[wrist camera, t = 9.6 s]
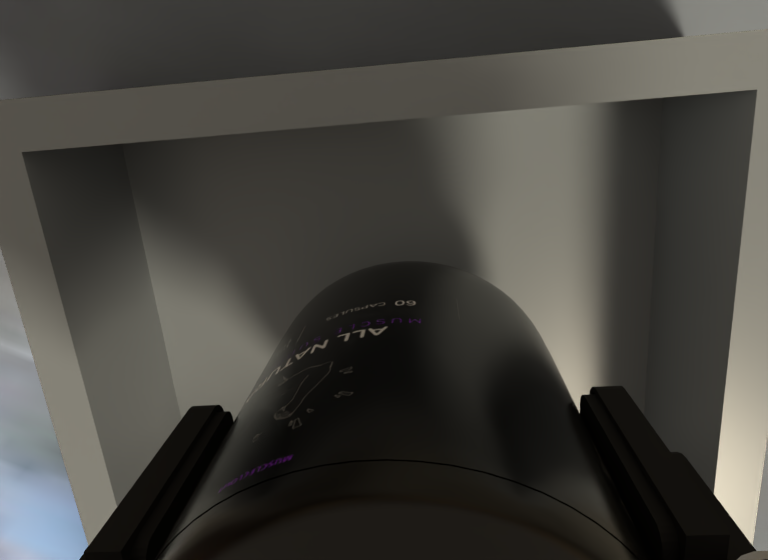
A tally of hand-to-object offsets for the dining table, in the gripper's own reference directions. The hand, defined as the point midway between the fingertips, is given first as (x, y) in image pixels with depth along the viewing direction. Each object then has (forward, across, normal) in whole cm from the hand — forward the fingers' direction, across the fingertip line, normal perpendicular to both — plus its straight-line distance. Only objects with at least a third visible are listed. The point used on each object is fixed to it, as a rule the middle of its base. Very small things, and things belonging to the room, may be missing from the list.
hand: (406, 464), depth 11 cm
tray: (+7, 0, 0) cm, 7 cm away
